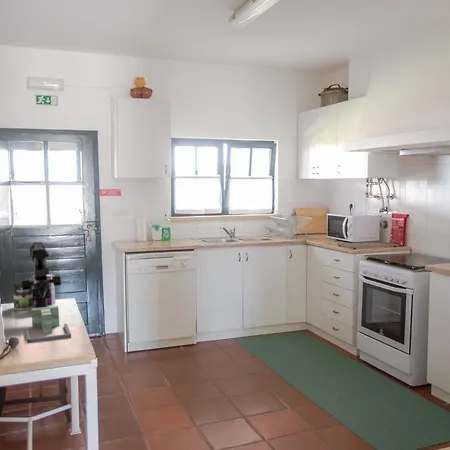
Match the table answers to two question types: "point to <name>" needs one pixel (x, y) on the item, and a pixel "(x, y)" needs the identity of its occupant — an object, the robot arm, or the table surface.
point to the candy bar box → (52, 290)
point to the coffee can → (22, 297)
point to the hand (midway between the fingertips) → (42, 297)
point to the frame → (48, 336)
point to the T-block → (45, 318)
